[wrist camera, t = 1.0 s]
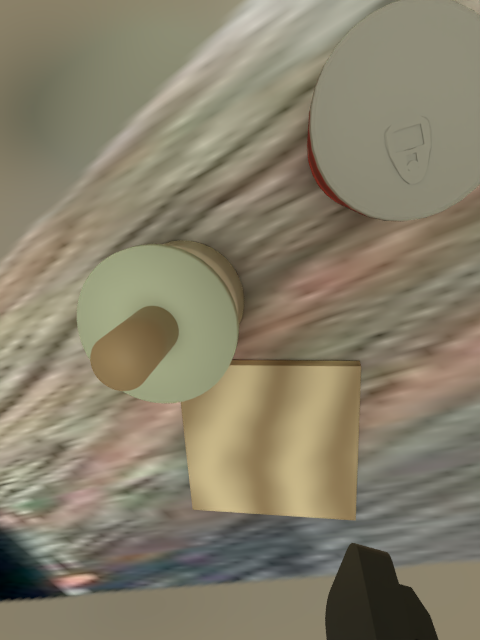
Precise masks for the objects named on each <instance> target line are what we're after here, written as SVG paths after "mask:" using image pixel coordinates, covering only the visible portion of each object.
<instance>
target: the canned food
mask: <svg viewBox="0 0 480 640" xmlns="http://www.w3.org/2000/svg"><path fill="white" fill-rule="evenodd" d="M307 153H308V161H309V165H310V168H311V171H312V174H313V176H314V178H315V180H316V182H317V184H318V185H319V187H320V188H321V189H322V190H323V191H324V193H325V194H326V195H327V196H329V197H330V198H331V199H332V200H334V201H335V202H337V203H339V204H341V205H343V206H345V207H347V208H349V209H351V210H354V211H356V212H358V213H360V214H362V215H364V216H368V217H372V218H376V219H380V220H384V221H408V220H414V219H421V218H425V217H428V216H431V215H434V214H436V213H439V212H442V211H444V210H446V209H448V208H449V207H451V206H453V205H454V204H456V203H458V202H459V201H461V200H462V199H463V198H465V197H466V196H467V195H468V194H469V193H470V192H472V191H473V190H474V189H475V188H476V187H477V186H478V185H479V184H480V16H479V15H478V14H477V13H476V12H475V11H474V10H472V9H469V8H467V7H465V6H463V5H461V4H459V3H457V2H455V1H451V0H402V1H398V2H394V3H391V4H389V5H387V6H385V7H383V8H381V9H379V10H377V11H375V12H373V13H371V14H369V15H368V16H367V17H366V18H364V19H363V20H362V21H360V22H359V23H358V24H357V25H355V26H354V27H353V28H352V29H351V30H350V31H349V32H348V33H347V34H346V35H345V37H344V38H343V39H342V40H341V41H340V42H339V43H338V44H337V46H336V48H335V49H334V51H333V52H332V54H331V55H330V57H329V59H328V60H327V62H326V63H325V65H324V67H323V69H322V71H321V74H320V76H319V79H318V81H317V84H316V86H315V89H314V94H313V98H312V103H311V107H310V112H309V124H308V141H307Z"/></svg>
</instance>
